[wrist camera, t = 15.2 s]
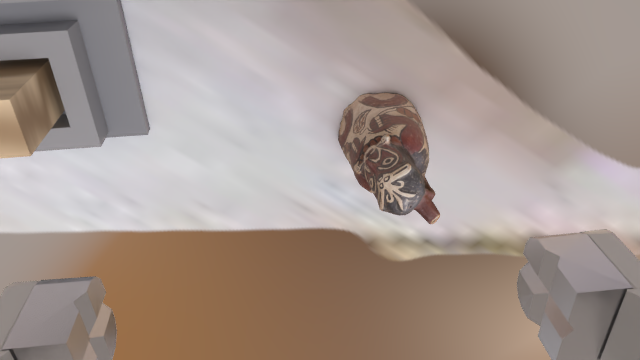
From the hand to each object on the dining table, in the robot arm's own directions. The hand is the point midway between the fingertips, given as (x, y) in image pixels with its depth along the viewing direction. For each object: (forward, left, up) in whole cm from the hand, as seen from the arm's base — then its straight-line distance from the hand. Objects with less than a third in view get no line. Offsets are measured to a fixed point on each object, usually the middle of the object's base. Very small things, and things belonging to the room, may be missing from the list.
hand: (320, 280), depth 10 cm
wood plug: (+7, -19, -32) cm, 38 cm away
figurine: (+14, +8, -33) cm, 37 cm away
